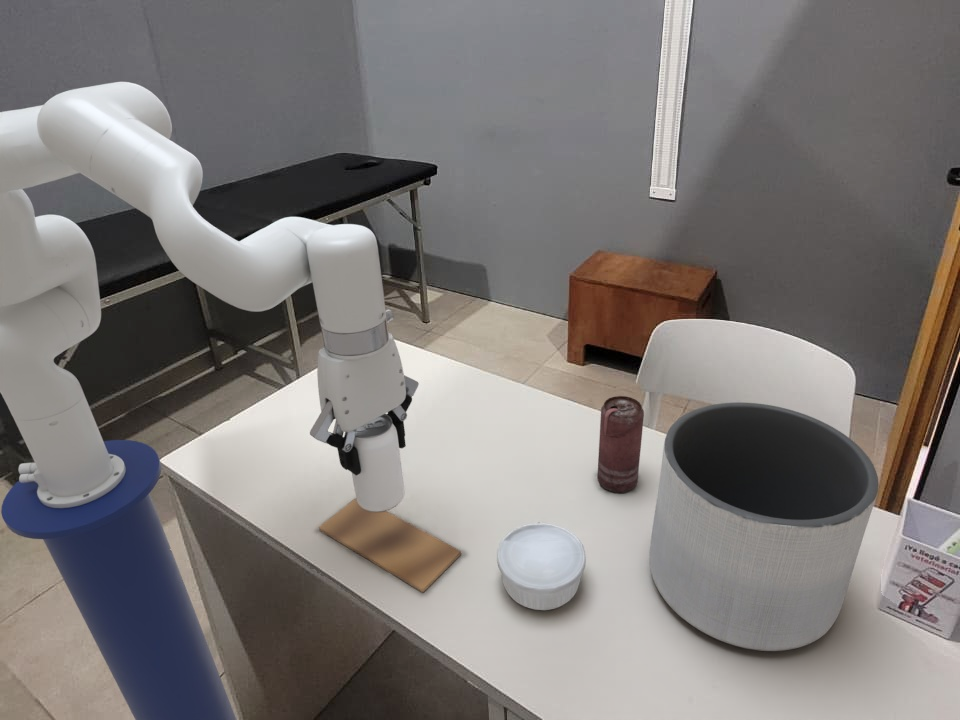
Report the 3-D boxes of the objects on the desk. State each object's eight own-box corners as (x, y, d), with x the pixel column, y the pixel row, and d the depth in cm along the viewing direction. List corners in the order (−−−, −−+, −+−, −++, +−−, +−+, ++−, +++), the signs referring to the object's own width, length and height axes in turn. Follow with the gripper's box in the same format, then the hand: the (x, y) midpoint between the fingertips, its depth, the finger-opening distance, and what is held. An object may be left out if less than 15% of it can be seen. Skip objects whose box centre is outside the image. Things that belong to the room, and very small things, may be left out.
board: (319, 530, 94) (318, 527, 94) (358, 498, 99) (358, 496, 99) (423, 593, 83) (422, 589, 83) (461, 554, 89) (461, 551, 88)
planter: (658, 504, 95) (673, 388, 86) (829, 538, 88) (865, 416, 78) (635, 628, 77) (650, 499, 67) (848, 684, 70) (899, 549, 60)
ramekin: (552, 539, 90) (552, 510, 88) (602, 594, 82) (604, 564, 79) (482, 571, 86) (480, 542, 83) (527, 633, 77) (527, 603, 75)
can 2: (587, 481, 101) (591, 406, 94) (613, 463, 104) (618, 389, 97) (619, 500, 97) (625, 423, 90) (645, 480, 100) (652, 405, 93)
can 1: (352, 489, 89) (339, 416, 83) (398, 476, 91) (388, 405, 85) (362, 519, 84) (349, 444, 78) (410, 505, 86) (401, 431, 80)
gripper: (393, 300, 83) (407, 416, 91) (272, 351, 72) (301, 476, 81) (433, 317, 78) (443, 437, 87) (308, 373, 67) (335, 504, 76)
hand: (374, 455), depth 84 cm, fingers closed on can 1, 6 cm apart
